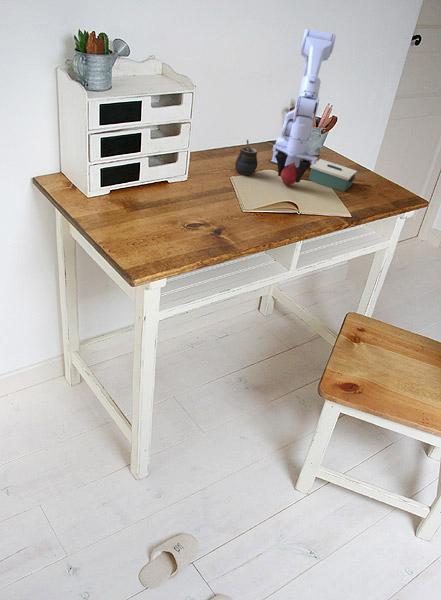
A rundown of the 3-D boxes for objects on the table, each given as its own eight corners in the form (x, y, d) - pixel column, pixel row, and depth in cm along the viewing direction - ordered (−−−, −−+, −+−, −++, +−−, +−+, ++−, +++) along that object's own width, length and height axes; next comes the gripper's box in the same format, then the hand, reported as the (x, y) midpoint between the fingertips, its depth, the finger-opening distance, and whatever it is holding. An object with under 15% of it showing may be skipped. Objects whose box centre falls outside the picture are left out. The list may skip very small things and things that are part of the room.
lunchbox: (305, 179, 189) (310, 163, 186) (315, 172, 196) (319, 157, 193) (345, 192, 184) (350, 177, 181) (354, 185, 192) (358, 169, 189)
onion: (290, 190, 178) (295, 167, 173) (275, 184, 180) (280, 160, 176) (299, 186, 182) (305, 163, 178) (284, 180, 184) (289, 157, 180)
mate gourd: (238, 177, 180) (244, 147, 175) (229, 168, 186) (235, 138, 180) (258, 177, 183) (264, 147, 178) (249, 168, 189) (255, 139, 183)
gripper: (272, 133, 172) (263, 174, 179) (315, 147, 167) (304, 189, 174) (281, 128, 177) (272, 169, 184) (323, 142, 172) (312, 183, 180)
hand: (288, 178), depth 180 cm, fingers closed on onion, 6 cm apart
